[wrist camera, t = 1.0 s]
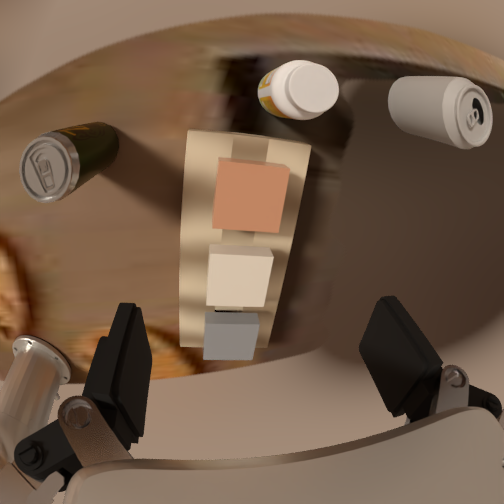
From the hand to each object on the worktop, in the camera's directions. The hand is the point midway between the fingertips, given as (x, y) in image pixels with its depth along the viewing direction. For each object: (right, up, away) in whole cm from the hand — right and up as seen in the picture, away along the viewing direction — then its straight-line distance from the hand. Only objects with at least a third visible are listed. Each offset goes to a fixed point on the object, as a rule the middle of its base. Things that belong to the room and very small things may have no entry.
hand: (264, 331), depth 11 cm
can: (+19, +21, +18) cm, 34 cm away
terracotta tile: (-1, +9, +17) cm, 19 cm away
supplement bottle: (+3, +20, +16) cm, 26 cm away
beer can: (-17, +14, +16) cm, 27 cm away
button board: (-3, +3, +24) cm, 24 cm away
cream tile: (-2, +2, +21) cm, 21 cm away
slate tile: (-4, -6, +25) cm, 26 cm away
